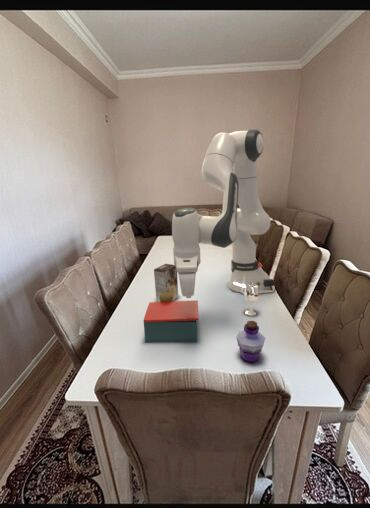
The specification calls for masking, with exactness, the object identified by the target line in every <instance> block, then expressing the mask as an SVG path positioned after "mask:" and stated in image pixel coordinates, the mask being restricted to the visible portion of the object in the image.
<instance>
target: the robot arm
mask: <svg viewBox="0 0 370 508" xmlns="http://www.w3.org/2000/svg"><path fill="white" fill-rule="evenodd" d="M264 146H265V145H264V136H263V134H262V132H260V130H258V129H248V130H238V131H233V132H230V133H228V132H219V133H217V134H215V135H214V136H213V138H212V139H211V141H210V143H209V144H208V147H207V150H206V153H205V155H204V159H203V161H202V165H201V166H202V167H201V175H202V178H203V180H204V182H205V183H206V184H207V185H209V186H210V187H212V188H214V189H216V190H218V191H220V192H222V193H223V200H222V208H221V209H222V210H221V214H220V215H218V216H215V215H214V216H212V215H202V214H200V213H198V211H197V209H196V208H193V207H184V208H179V209H177V210H175V211H174V212H173V215H172V218H171V219H172V221H171V236H172V241H173V248H172V249H173V250H172V252H173V265H175V266H176V271H177V274H178V280H179V287H180V292H181V295H182V297H185V298H187V299H191V298H192V297H193V296H194V295H195V289H196V275H197V272H198V270H199V266H200V265H201V247H200V244H202V245H211V246H214V247H218V248H222V249H225V248H227V247H229V246H230V245H231V246H232V249H231V250H232V254H231V256H232V257H231V258H232V259H231V262H230V278H229V282H228V285H227V287H228V288H229V289H230V290H232V291H234V292H236V293H241V294H242V295H244V290H245V287H246V285H247V284H249V283H253V284H256V285H258V288H259V294H268V293H274V292H276V291H275V290H276V288H275V287H276V286H275V280H274V279H273V278H270V276H269V274H268V273H267V272H266V271H265V270H264V269H262V267H263V264H262V263H261V262H260V261H259V260H257V259H256V256H257V245H256V243H255V241H254V240H253V238H252V236H251V235H253V236H259V235H261V236H262V235H265V234H266V233H267V232H268V231H269V230H270V227H271V222H272V221H271V217H270V215H269V214H268V213H267V212H266V211H265V209H264V208H263V205H262V203H261V201H260V200H261V199H260V197H259V186H258V185H259V181H258V164H257V160H258V159H259V157H261V155H262V154H263V152H264V151H263V150H264Z"/></svg>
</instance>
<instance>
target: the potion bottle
mask: <svg viewBox="0 0 370 508" xmlns="http://www.w3.org/2000/svg"><path fill="white" fill-rule="evenodd" d="M266 339H267V338H266V337H265V336H264V335H263V334H262V333H261V332H260V326H259V325H258V322H257V321H255V320H247V321H246V323H245V324H244V326H243V330H240V331H238V333H237V336H236V343H237V346H238V347H239V354H240V358H241V359H242V361H243V362H246V363H249V364H253V363H254V364H255V363H257V362H259V359H260V353H262V351H263V347H264V345H265V341H266Z"/></svg>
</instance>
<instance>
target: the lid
mask: <svg viewBox="0 0 370 508" xmlns="http://www.w3.org/2000/svg"><path fill="white" fill-rule="evenodd" d="M199 315H200V314H199V301H198V300H174V301H171V302H167V303H164V302H156V301H150V302H148V305H147V308H146V311H145V314H144V317H143V323H144V322H165V321H191V320H196V321H200V316H199Z"/></svg>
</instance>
